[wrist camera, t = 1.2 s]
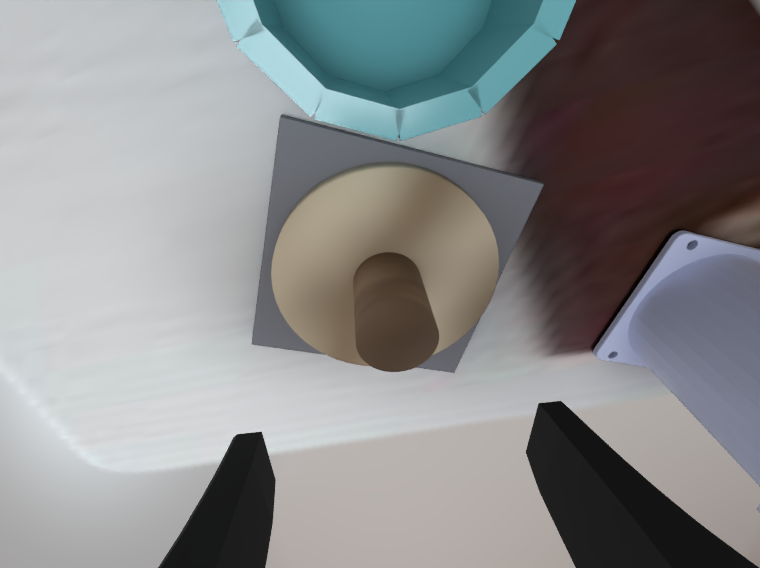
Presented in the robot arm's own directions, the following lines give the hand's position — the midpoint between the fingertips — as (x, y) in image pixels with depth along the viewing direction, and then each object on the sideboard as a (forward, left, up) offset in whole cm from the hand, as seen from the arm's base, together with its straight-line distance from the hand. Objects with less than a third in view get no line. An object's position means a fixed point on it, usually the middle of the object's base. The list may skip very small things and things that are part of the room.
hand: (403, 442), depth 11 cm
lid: (0, 0, -9) cm, 9 cm away
